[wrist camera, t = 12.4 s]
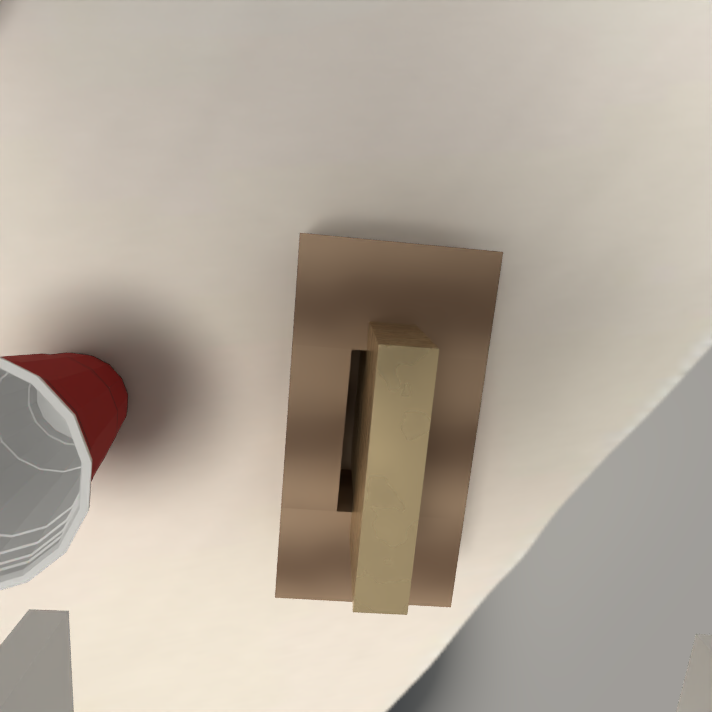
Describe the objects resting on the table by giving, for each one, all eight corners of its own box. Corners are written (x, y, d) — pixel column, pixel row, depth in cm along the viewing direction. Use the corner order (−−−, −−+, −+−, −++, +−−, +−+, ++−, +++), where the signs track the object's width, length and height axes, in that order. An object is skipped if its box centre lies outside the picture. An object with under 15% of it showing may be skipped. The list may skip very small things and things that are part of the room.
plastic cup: (208, 386, 33) (139, 466, 21) (105, 507, 35) (-13, 644, 23) (61, 270, 31) (-101, 289, 20) (-41, 403, 33) (-249, 494, 21)
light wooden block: (363, 308, 32) (378, 344, 21) (403, 312, 32) (439, 348, 21) (347, 494, 34) (353, 612, 23) (384, 496, 34) (407, 614, 23)
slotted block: (306, 234, 31) (299, 232, 26) (472, 249, 32) (503, 252, 26) (285, 538, 36) (275, 597, 30) (431, 547, 36) (450, 607, 30)
